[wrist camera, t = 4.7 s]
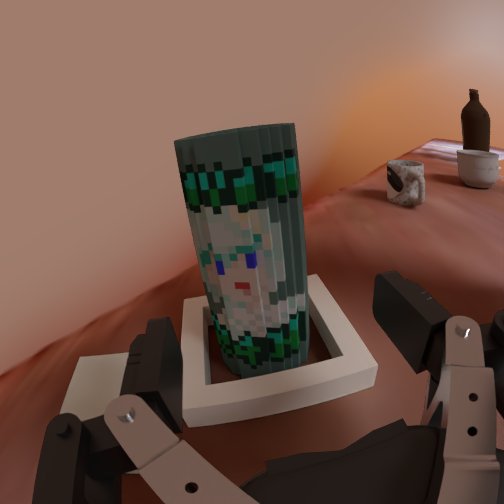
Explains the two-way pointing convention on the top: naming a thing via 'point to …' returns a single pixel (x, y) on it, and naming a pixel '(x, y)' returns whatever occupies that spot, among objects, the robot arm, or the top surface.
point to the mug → (405, 182)
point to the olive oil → (475, 124)
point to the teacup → (477, 168)
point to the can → (250, 243)
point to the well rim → (276, 384)
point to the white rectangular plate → (95, 386)
